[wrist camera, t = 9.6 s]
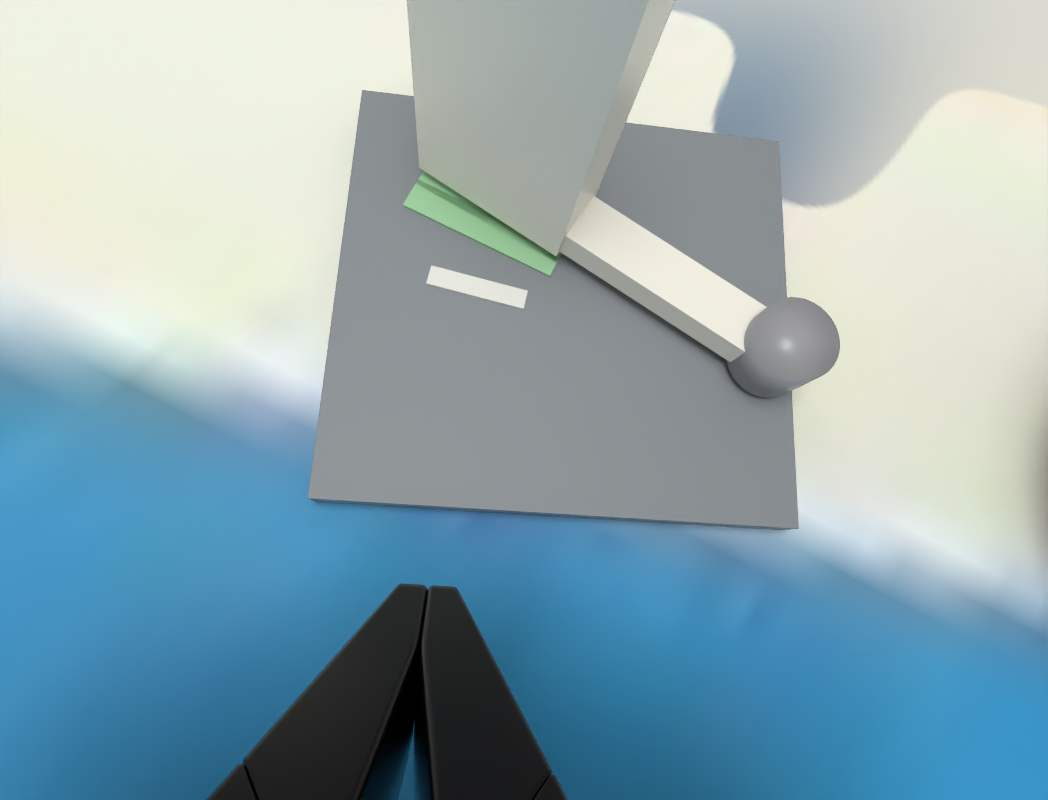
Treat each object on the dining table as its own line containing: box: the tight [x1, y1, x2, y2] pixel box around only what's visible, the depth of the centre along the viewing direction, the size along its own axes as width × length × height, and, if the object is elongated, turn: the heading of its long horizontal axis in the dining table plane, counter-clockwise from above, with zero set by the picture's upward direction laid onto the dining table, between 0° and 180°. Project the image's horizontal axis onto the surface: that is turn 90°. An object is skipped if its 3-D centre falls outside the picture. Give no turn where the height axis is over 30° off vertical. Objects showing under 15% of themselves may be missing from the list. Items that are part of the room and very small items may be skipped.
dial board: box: [308, 90, 799, 530], centre depth 20 cm, size 13×14×1 cm
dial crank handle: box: [407, 0, 840, 398], centre depth 14 cm, size 2×13×12 cm, turn 57°
